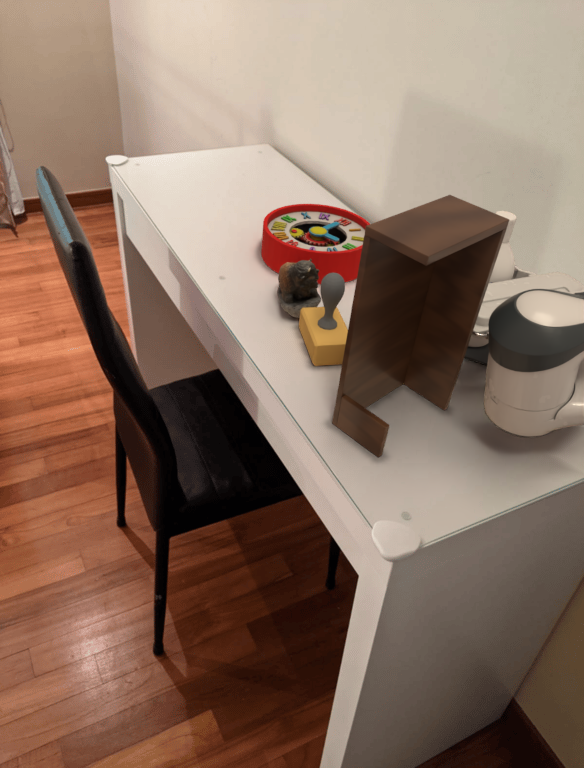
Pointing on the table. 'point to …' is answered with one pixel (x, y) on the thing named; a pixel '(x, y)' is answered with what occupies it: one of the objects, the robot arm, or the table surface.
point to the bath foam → (501, 265)
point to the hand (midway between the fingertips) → (481, 273)
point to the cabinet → (414, 308)
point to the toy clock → (314, 238)
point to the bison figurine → (298, 286)
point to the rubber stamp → (325, 324)
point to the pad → (478, 354)
